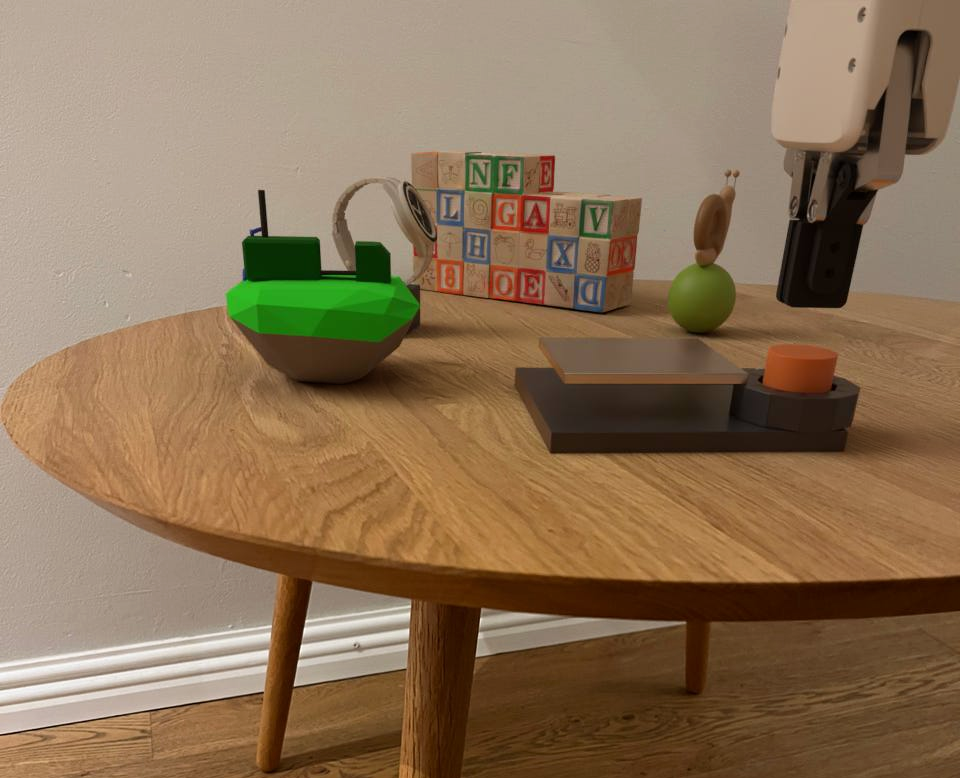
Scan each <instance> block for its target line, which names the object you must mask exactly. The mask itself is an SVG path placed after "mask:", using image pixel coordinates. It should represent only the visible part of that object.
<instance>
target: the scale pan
mask: <svg viewBox="0 0 960 778" xmlns="http://www.w3.org/2000/svg"><path fill="white" fill-rule="evenodd" d="M538 348H539V350H540V351H541V352H542V354H543V356H544V357H545V359H546V360H547V361H548V362H549V364H550V365H551V368H554V370H555V371H556V372H557V374H558V375H559V377H560V378H561V379H562V381H563V382H564V384H687V385H746V384H747V381H748V375H749V374H748V373H747V372H745V371H744V370H742V369H741V367H740V366H739V365H737V364H735V363H733V362H732V361H731V360H730V359H728V358H727V357H725V356H724V355H722V354H721V353H719V352H718V351H717V350H715V349H714V348H712V347H711V346H709V344H706V343H705V342H703V340H701V339H699V338H697V337H695V338H693V337H691V338H690V337H689V338H687V337H686V338H685V337H558V336H557V337H549V336H548V337H539V338H538Z"/></svg>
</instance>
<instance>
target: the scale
mask: <svg viewBox="0 0 960 778" xmlns="http://www.w3.org/2000/svg"><path fill="white" fill-rule="evenodd" d="M740 368H741V367H740ZM741 369H742V370H744V371H745V372H747V373H748V374H749V375H748V381H747V384H746V385H687V384H564V382H563V381H562V379H561V378H560V377H559V375H558V374H557V372H556V371H555V370H554V368H553V367H515V370H514V387H515V389H516V391H517V392H518V394H519V397H520V398H521V401H522V402H523V404H524V406H525V408H526V410H527V412H528V414H529V416H530V418H531V419H532V422H533V423H534V425H535V427H536V429H537V432H538V433H539V435H540V437H541V439H542V441H543V443H544V445H545V447H546V448H547V451H548V453H549V454H551V455H552V454H553V455H554V454H558V455H559V454H561V455H562V454H687V453H688V454H691V453H692V454H693V453H694V454H697V453H698V454H700V453H701V454H702V453H703V454H704V453H709V454H710V453H711V454H712V453H715V454H716V453H719V454H720V453H841V452H842V453H843V452H845V449H846V443H847V438H848V436H849V431H848V430H847V429H848V428H851V427H852V425H853V422H854V419H855V414H856V410H857V406H858V401H859V398H860V393H861V386H859V385H857V384H855V383H854V382H852V381H850V380H849V379H847V378H844V377H840V376H837V375H834V377H833V382H832V386H831V391H830V392H826V393H800V392H792V391H784V390H779V389H776V388H772V387H768V386H765V385H763V384H762V383H763V378H764V372H765V368H757V369H756V368H755V367H750V368H749V367H742V368H741Z"/></svg>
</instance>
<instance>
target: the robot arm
mask: <svg viewBox="0 0 960 778" xmlns="http://www.w3.org/2000/svg"><path fill="white" fill-rule="evenodd" d="M789 4H790V5H789V9H788V14H787V19H786V24H785V27H784V28H785V29H784V34H783V39H782V44H781V50H780V55H779V61H778V66H777V72H776V78H775V84H774V90H773V98H772V106H771V117H770V132H771V135H772V137H773V139H774V140H775V141H776V142H777V144H778V145H779V146H781V147H782V148H784V149H786V151H785V153H784V159H783V166H782V167H783V170H784V172H785V173H786V174H787V175H788V176H789V177H790V178H791V185H790V193H789V201H788V210H787V211H788V217H789V221H788V225H787V232H786V238H785V243H784V249H783V254H782V259H781V264H780V271H779V276H778V282H777V288H776V293H775V297H776V300H777V301H778V302H779V303H781V304H784V305H786V306H788V307H790V308H794V309H795V308H796V309H797V308H798V309H799V308H800V309H801V308H802V309H804V308H805V309H841V308H843V307H845V305H846V304H847V302H848V298H849V294H850V288H851V284H852V280H853V275H854V270H855V265H856V261H857V256H858V252H859V248H860V244H861V243H860V242H861V237H862V234H863V228H864V226H865V225H866V224H867V223H868V222H869V220H870V217H871V214H872V211H873V208H874V204H875V200H876V197H877V193H878V192H879V190H883V189H884V188H887V187H890V186H893V185H894V184H897V183H898V182H899V181H900V180H901V178H902V176H903V172H904V165H905V158H906V156H923V155H927V154H929V153H931V152H933V151H934V150H935V149H936V148H937V147H939V145H941V144H942V143H943V141H944V139H945V138H946V135H947V133H948V129H949V126H950V123H951V119H952V115H953V111H954V106H955V102H956V98H957V93H958V89H959V85H960V0H790V3H789Z"/></svg>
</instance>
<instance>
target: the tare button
mask: <svg viewBox="0 0 960 778" xmlns="http://www.w3.org/2000/svg"><path fill="white" fill-rule="evenodd" d="M767 350H768V351H767V356H766V361H765V367H764V369H765V372H764V378H763V383H762V384H763V385H765V386H768V387H772V388H776V389H779V390H784V391H792V392H800V393H826V392H830V391H831V386H832V382H833V377H834V376H835V372H836V367H837V363H838V357H839V354H838V353H837V352H836V351H835V350H832V349H829V348H825V347H821V346H817V345H816V346H814V345H808V344H795V343H794V344H793V343H791V344H787V343H786V344H785V343H784V344H776V345H772V346H770V347H769V348H768V349H767Z"/></svg>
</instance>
